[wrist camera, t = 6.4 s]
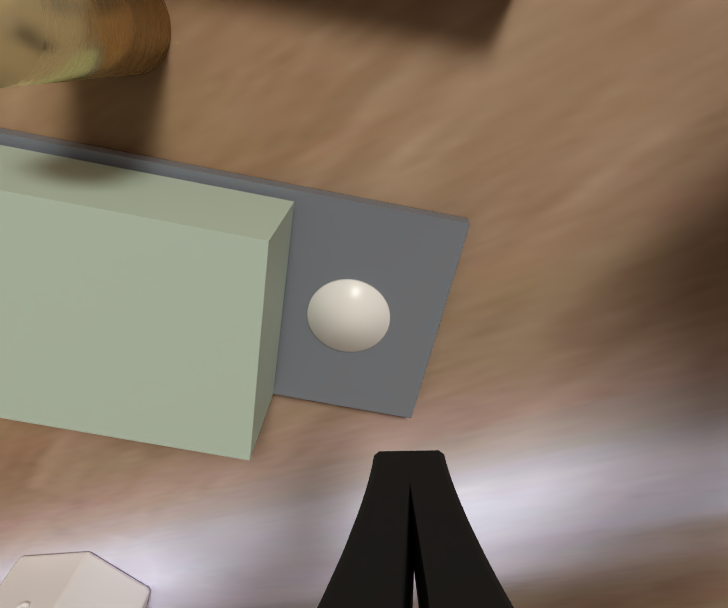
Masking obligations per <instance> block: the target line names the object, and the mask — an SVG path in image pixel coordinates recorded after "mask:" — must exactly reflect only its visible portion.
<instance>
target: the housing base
mask: <svg viewBox="0 0 728 608" xmlns="http://www.w3.org/2000/svg"><path fill="white" fill-rule="evenodd" d="M0 145H4V146H9V147H14V148H19V149H24V150H30V151H35V152H40V153H45V154H50V155H56V156H61V157H66V158H71V159H76V160H82V161H87V162H92V163H97V164H102V165H108V166H113V167H118V168H123V169H128V170H133V171H139V172H144V173H149V174H154V175H159V176H165V177H170V178H175V179H180V180H185V181H191V182H196V183H201V184H206V185H211V186H217V187H222V188H227V189H232V190H237V191H243V192H248V193H253V194H258V195H263V196H269V197H274V198H279V199H284V200H289V201H294V210H293V219H292V228H291V237H290V246H289V255H288V265H287V274H286V283H285V292H284V301H283V310H282V319H281V328H280V337H279V346H278V355H277V364H276V373H275V382H274V391H273V394H277V395H283V396H288V397H294V398H300V399H305V400H311V401H316V402H322V403H328V404H333V405H339V406H345V407H350V408H356V409H362V410H367V411H373V412H379V413H384V414H390V415H396V416H401V417H407V418H411V417H412V413H413V410H414V407H415V403H416V400H417V397H418V393H419V390H420V387H421V384H422V380H423V377H424V374H425V370H426V367H427V364H428V360H429V357H430V354H431V351H432V347H433V344H434V341H435V337H436V334H437V331H438V327H439V324H440V321H441V317H442V314H443V311H444V308H445V304H446V301H447V298H448V294H449V291H450V288H451V284H452V281H453V278H454V275H455V271H456V268H457V265H458V261H459V258H460V255H461V251H462V248H463V245H464V242H465V238H466V235H467V232H468V228H469V225H470V223H469V221H468V218H463V217H458V216H453V215H448V214H442V213H437V212H432V211H427V210H422V209H417V208H412V207H406V206H401V205H396V204H391V203H386V202H381V201H375V200H370V199H365V198H360V197H355V196H350V195H344V194H339V193H334V192H329V191H324V190H319V189H313V188H308V187H303V186H298V185H293V184H288V183H283V182H277V181H272V180H267V179H262V178H257V177H252V176H246V175H241V174H236V173H231V172H226V171H221V170H215V169H210V168H205V167H200V166H195V165H190V164H184V163H179V162H174V161H169V160H164V159H159V158H154V157H148V156H143V155H138V154H133V153H128V152H123V151H117V150H112V149H107V148H102V147H97V146H92V145H86V144H81V143H76V142H71V141H66V140H61V139H55V138H50V137H45V136H40V135H35V134H30V133H24V132H19V131H14V130H9V129H4V128H0Z"/></svg>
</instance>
